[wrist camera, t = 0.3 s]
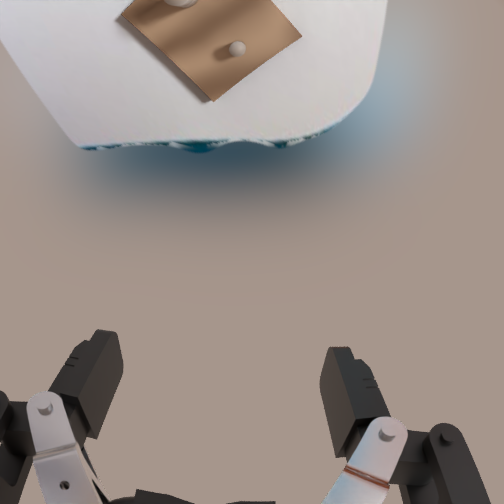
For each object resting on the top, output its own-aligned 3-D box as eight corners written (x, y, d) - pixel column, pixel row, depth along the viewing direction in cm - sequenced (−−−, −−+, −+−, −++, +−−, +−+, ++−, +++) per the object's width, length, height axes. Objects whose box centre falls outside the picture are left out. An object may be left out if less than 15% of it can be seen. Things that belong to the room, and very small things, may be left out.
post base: (126, 14, 25) (101, 15, 20) (208, -57, 20) (199, -72, 15) (214, 98, 33) (208, 114, 28) (300, 35, 28) (311, 38, 23)
